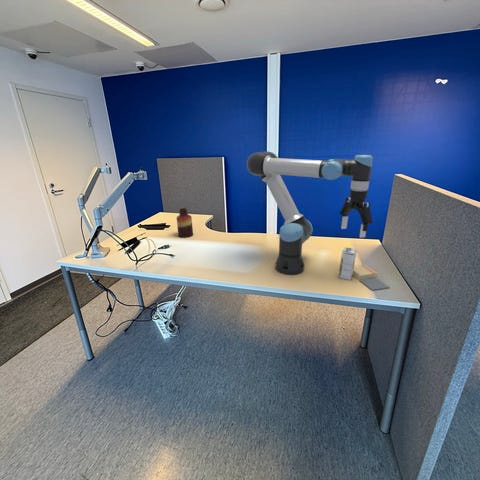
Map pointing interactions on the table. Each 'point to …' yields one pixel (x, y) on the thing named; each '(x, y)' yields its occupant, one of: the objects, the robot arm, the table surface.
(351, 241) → the table surface
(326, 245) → the table surface
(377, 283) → the stub mat
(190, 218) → the brown cylindrical bottle
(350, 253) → the syrup box
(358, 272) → the board
